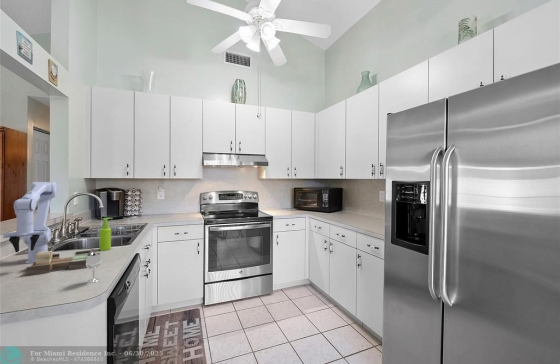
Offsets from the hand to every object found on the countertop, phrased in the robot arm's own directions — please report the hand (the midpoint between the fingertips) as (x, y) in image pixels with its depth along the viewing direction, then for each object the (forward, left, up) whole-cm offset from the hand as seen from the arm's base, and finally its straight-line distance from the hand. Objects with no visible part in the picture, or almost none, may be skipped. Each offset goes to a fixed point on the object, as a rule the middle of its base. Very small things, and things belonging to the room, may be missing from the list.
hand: (24, 250), depth 119 cm
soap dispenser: (-23, +31, -10) cm, 40 cm away
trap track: (0, +14, -9) cm, 17 cm away
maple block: (0, +7, -7) cm, 10 cm away
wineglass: (+30, +30, -10) cm, 43 cm away
